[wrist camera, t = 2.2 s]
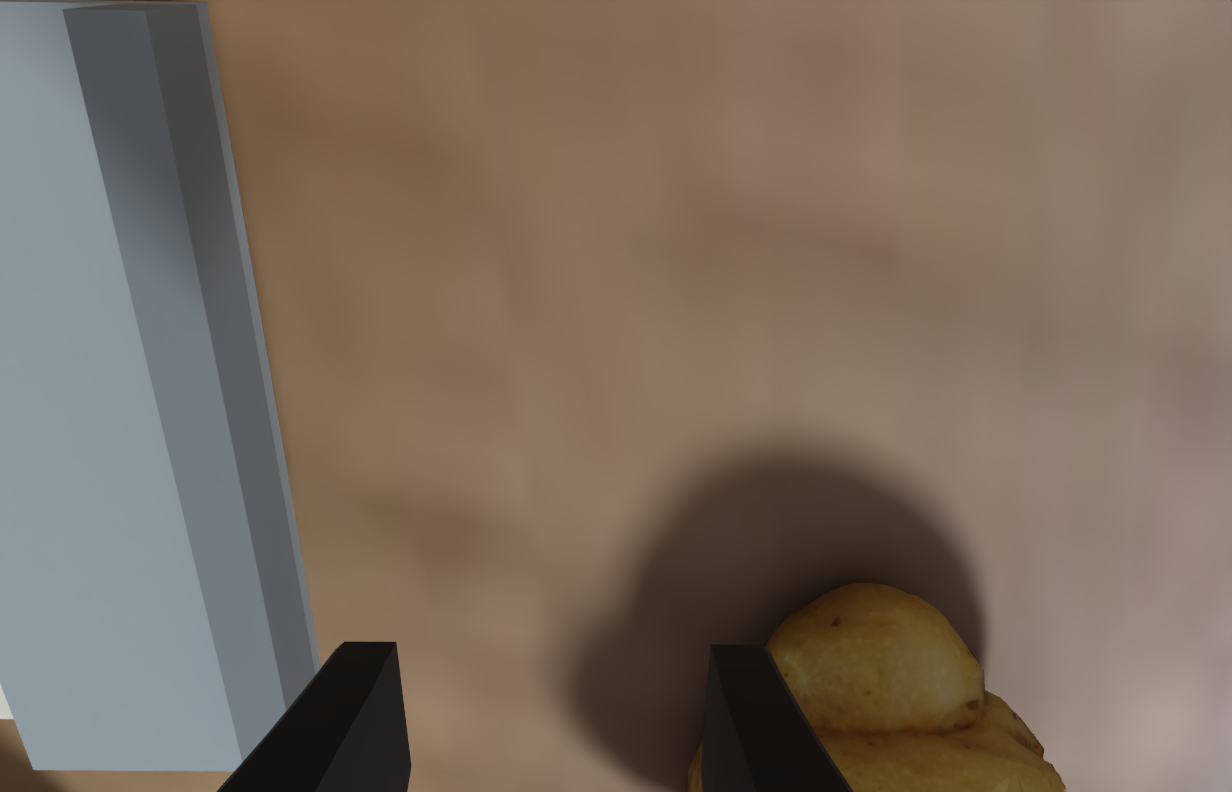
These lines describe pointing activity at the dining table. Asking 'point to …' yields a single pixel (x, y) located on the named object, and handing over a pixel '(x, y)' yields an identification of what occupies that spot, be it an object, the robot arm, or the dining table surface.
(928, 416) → the dining table surface
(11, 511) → the flap
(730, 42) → the dining table surface
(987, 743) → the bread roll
